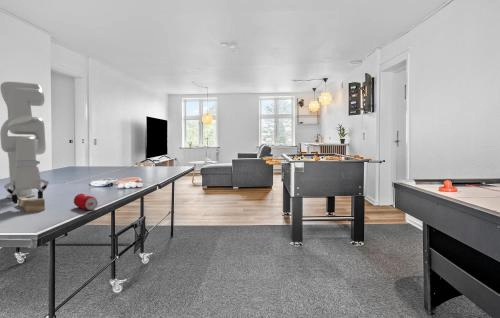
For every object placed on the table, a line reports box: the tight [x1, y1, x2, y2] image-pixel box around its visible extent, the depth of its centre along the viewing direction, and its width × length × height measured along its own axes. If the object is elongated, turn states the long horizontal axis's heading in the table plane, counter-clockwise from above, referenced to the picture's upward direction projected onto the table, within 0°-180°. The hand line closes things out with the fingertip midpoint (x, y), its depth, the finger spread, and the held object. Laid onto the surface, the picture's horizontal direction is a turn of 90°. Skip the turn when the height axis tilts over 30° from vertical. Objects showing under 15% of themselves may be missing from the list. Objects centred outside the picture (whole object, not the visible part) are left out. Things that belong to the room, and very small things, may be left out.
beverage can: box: [73, 193, 98, 211], centre depth 151 cm, size 6×6×12 cm
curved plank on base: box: [17, 197, 46, 214], centre depth 151 cm, size 20×7×5 cm, turn 49°
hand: (27, 201), depth 152 cm, fingers open, 9 cm apart
